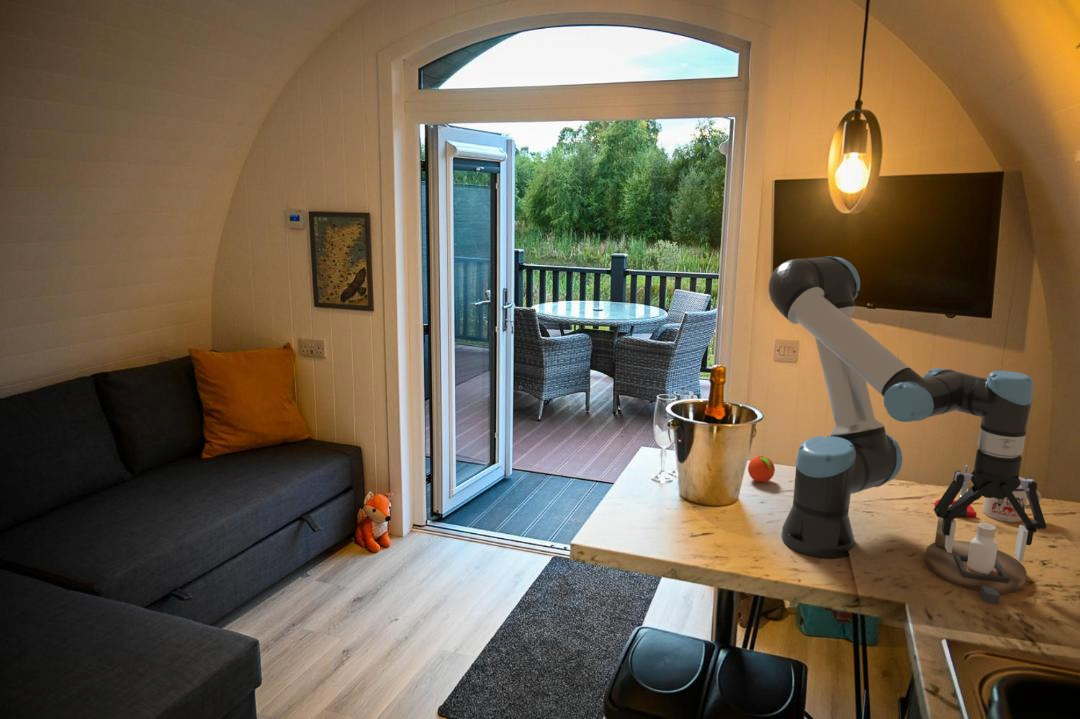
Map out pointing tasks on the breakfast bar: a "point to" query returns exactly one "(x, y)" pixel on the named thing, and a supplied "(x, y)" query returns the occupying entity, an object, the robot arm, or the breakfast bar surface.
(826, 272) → the robot arm
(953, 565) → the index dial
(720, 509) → the breakfast bar surface
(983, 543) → the pepper shaker
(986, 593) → the charcoal grey block
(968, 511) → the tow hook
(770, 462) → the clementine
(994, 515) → the teacup with lid
